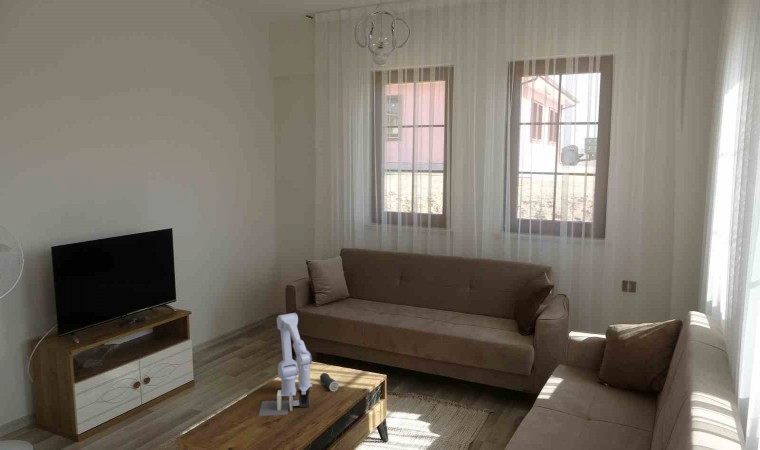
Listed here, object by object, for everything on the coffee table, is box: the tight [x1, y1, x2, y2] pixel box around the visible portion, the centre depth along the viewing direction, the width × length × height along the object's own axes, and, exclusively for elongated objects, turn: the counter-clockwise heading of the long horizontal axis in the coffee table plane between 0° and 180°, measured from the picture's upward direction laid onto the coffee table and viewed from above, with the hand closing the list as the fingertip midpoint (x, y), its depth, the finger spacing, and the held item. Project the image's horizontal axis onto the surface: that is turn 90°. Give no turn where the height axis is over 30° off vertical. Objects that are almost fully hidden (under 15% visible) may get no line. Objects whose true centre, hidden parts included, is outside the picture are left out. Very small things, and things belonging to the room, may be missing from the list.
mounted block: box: [288, 393, 311, 412], centre depth 287 cm, size 8×10×6 cm
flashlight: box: [319, 372, 340, 392], centre depth 314 cm, size 15×5×5 cm, turn 28°
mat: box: [258, 399, 290, 417], centre depth 286 cm, size 16×14×1 cm
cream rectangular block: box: [276, 389, 282, 410], centre depth 286 cm, size 6×2×8 cm, turn 6°
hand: (304, 402), depth 287 cm, fingers closed on mounted block, 2 cm apart
